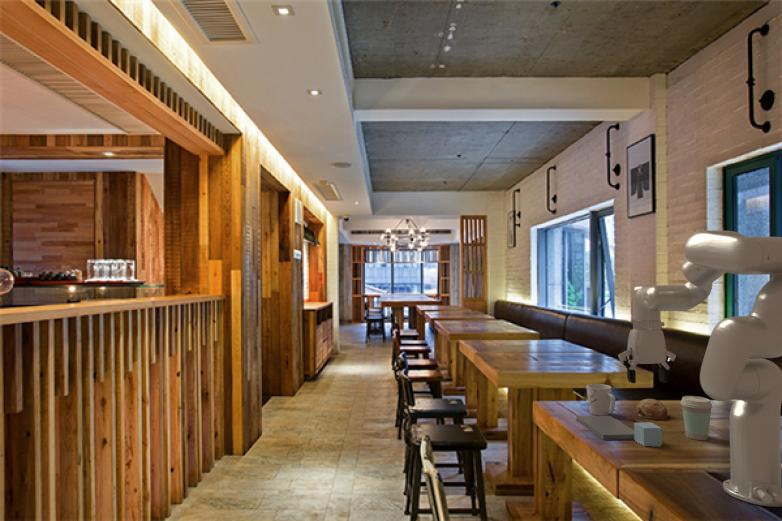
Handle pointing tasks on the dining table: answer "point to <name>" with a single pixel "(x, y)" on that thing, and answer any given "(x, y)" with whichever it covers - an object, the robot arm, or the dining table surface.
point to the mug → (600, 399)
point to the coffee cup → (696, 416)
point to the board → (606, 427)
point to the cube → (648, 434)
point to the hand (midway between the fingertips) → (647, 382)
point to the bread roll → (651, 409)
